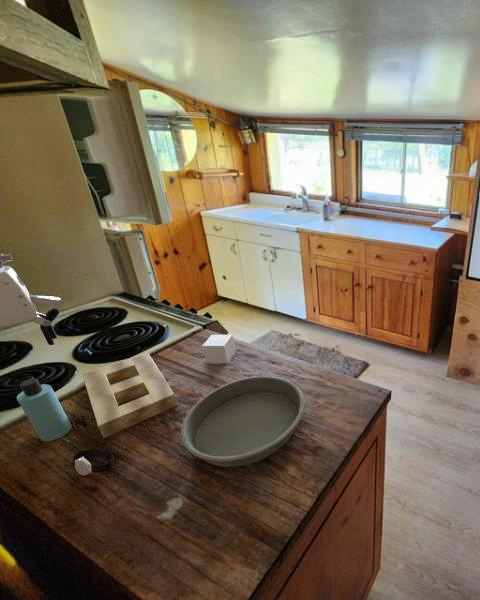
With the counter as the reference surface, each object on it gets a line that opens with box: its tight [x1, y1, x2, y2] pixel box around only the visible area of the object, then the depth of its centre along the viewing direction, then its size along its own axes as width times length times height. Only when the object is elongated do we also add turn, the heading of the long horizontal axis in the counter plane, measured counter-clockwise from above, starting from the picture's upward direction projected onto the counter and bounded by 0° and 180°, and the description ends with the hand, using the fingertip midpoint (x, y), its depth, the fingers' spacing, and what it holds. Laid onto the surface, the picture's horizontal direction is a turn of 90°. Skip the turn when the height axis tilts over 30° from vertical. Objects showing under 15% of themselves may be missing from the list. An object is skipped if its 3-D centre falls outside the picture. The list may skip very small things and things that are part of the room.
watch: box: [71, 448, 115, 476], centre depth 62 cm, size 8×5×4 cm, turn 77°
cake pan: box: [180, 375, 306, 468], centre depth 72 cm, size 25×25×4 cm
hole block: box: [82, 352, 179, 439], centre depth 80 cm, size 14×24×4 cm, turn 47°
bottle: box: [16, 378, 72, 442], centre depth 67 cm, size 5×5×14 cm
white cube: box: [201, 334, 237, 364], centre depth 95 cm, size 6×6×6 cm
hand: (15, 352), depth 61 cm, fingers open, 9 cm apart
